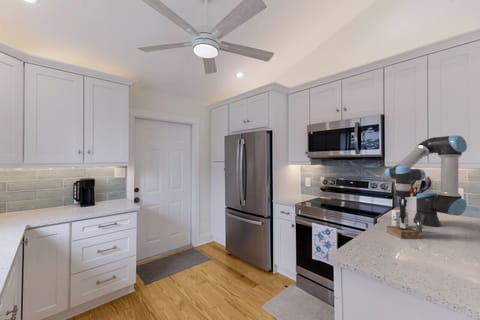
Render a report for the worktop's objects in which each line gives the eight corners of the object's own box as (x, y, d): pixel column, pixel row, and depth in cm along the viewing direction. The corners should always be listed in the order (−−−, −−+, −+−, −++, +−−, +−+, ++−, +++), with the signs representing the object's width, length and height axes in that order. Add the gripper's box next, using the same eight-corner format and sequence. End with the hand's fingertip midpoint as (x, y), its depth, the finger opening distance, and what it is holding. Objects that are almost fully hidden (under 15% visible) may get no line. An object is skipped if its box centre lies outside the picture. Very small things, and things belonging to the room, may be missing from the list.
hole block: (404, 231, 138) (404, 225, 138) (420, 238, 126) (420, 232, 126) (386, 231, 138) (386, 225, 138) (401, 238, 126) (401, 232, 126)
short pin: (419, 231, 140) (419, 220, 140) (423, 232, 137) (423, 222, 137) (414, 230, 140) (415, 220, 140) (418, 232, 137) (418, 221, 137)
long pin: (403, 229, 134) (403, 207, 134) (407, 231, 131) (407, 208, 131) (398, 229, 134) (398, 207, 134) (402, 231, 131) (402, 208, 131)
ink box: (403, 226, 151) (403, 210, 151) (408, 228, 146) (408, 211, 146) (391, 225, 151) (391, 209, 151) (395, 228, 146) (395, 211, 146)
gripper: (396, 188, 141) (396, 223, 141) (394, 191, 129) (394, 229, 128) (410, 189, 136) (410, 225, 136) (410, 192, 124) (410, 231, 124)
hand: (402, 227), depth 132 cm, fingers closed on long pin, 3 cm apart
